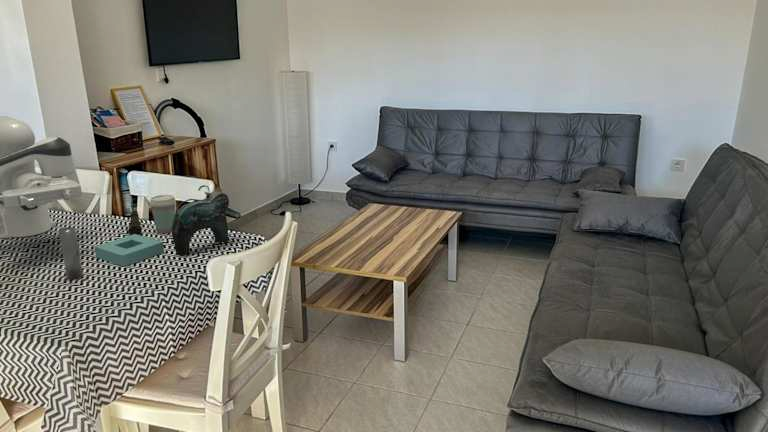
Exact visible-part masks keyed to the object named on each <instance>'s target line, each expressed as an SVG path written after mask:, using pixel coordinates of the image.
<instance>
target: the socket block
mask: <svg viewBox="0 0 768 432" xmlns="http://www.w3.org/2000/svg"><path fill="white" fill-rule="evenodd" d="M164 247H165V245H164V241H161V240H157V239H154V238H151V237H147V236H143V235H141V234H140V235H137V234H133V235H128V236H127V235H126V236H123V237H121V238H118V239H114V240H111V241H107V242H105V243H102V244H98V245H95V246H94V253H95V258H97V259H100V260H102V261H105V262H109V263H112V264H114V265H118V266H119V267H120V266H121V267H125V268H126V267H127V266H128V267H129V266H131V265H133V264H135V263H139V262H141V261H144V260H146V259H150V258H153V257H155V256H159V255H161V254H164V253H165V248H164Z"/></svg>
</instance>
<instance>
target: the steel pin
mask: <svg viewBox="0 0 768 432" xmlns="http://www.w3.org/2000/svg"><path fill="white" fill-rule="evenodd" d="M58 234H59V239H60V241H59V242H60V245H61V250H62V251H61V252H62V256H63V263H64V264H63V265H64V269H65V274H66V279H67V280H69V281H71V280H72V281H73V280H74V281H75V280H79V279H81V278H83V276H84V274H83V269H82V268H83V267H82V262H81V256H80V250H79V243H78V236H77V231H76V228H75V227H71V226H70V227H63V228H60V229H59V230H58Z"/></svg>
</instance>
